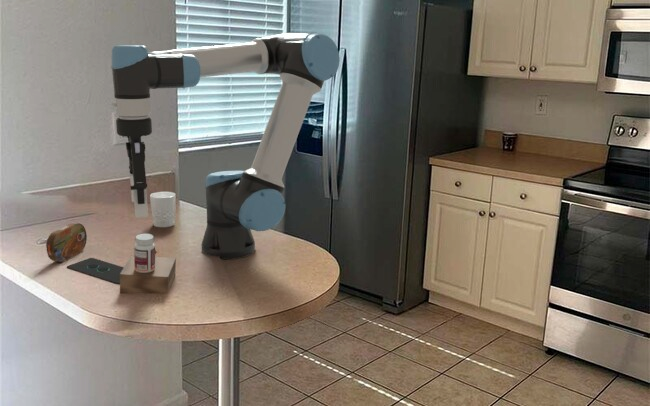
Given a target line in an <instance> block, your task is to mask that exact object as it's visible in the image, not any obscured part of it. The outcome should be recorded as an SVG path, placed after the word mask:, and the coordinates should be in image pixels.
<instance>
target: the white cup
mask: <svg viewBox="0 0 650 406" xmlns="http://www.w3.org/2000/svg"><path fill="white" fill-rule="evenodd" d="M149 199H150V200H149V201H150V210H151V214H152V215H151V216H152V221H153V226H154V227H156V228H169V227H173V226H175V224H176V193H175V192H173V191H156V192H153V193H151V194H150V195H149Z"/></svg>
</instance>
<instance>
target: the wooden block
mask: <svg viewBox="0 0 650 406" xmlns="http://www.w3.org/2000/svg"><path fill="white" fill-rule="evenodd" d="M176 259H177V258H175V257H162V256H155V269H154V270H153V271H152V272H149V273H139V272H137V271H136V270H135V265H134V254H133V255H130V257H129V258H128V260H127V262H126V263H125V264H124V266H123V267H124V268H123V270H122V271H121V273H120V284H119V294H129V295H130V294H131V295H132V294H135V295H136V294H145V295H146V294H168V293H169V291H170V289H171V287H172V285H173V282H174V279H175V278H176V263H177V262H176V261H177V260H176Z"/></svg>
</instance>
